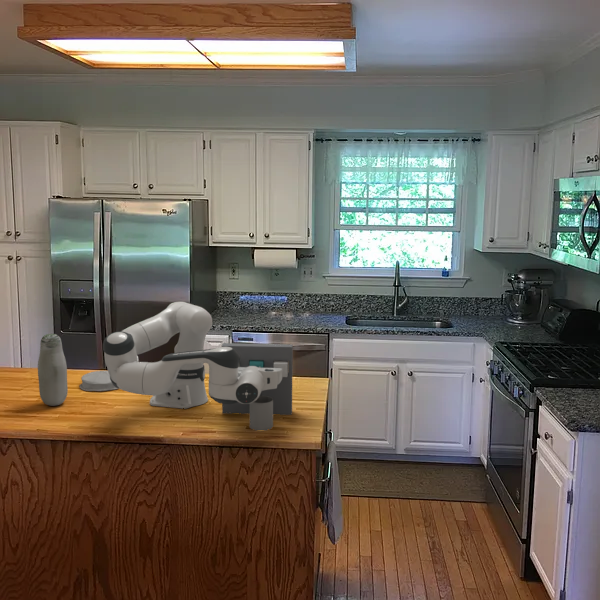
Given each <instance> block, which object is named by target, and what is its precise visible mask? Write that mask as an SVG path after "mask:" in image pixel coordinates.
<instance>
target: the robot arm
mask: <svg viewBox="0 0 600 600" xmlns="http://www.w3.org/2000/svg"><path fill="white" fill-rule="evenodd" d="M212 325H213V318H212V315H211V314H210V313H209V312H208V311H207V310H206V309H205V308H204V307H202V306H199V305H196V304H195V305H194V304H193V303H188V302H185V301H175V302H172V303H169V305H168V306H167V307H166V308H165V309H163V310H162V311H161V312H159V313H157V314H156V315H154V316H151V317H148V318H146V319H144V320H142V321H139V322H137V323H135V324H132V325H130V326H128V327H127V328H125V329H122V330H121V331H114V332H112V333H110V334H108V335H107V336H106V337H105V338H104V340H103V343H102V350H103V353H104V363H105V366H106V367H107V368H106V369H107V370H108V372H109V375H110V380H111V382H112V384H113V385H114V386H115V387H116V388H118V389H117V390H122V391H124V392H128V393H132V394H136V395H137V394H138V395H142V396H152V397H150V400H149V405H150V406H153V407H155V406H156V407H164V408H173V409H183V408H184V409H189V408H192V407H197V406H201V405H203V404H206V403H207V402H208V401H209V397H210V398H211V399H212V400H214V401H215V402H216V403H218V404H221V405H222V404H235V403H237V402H239V403H242V404H250V403H252V402H254V401H256V400H257V399H258V397H259V396H260V394H261V391H264V390H269V389H276V388H277V385H278V384H279V383H280V382H281V381H282V378H283V369H282V368H260V366H249V367H239V360H240V356H239V354H238V353H237V352H236V351H235V350H234V349H233V348H232V347H221V346H219V347H215V348H209V349H204V345H205V341H206V336H207V333H208V332H210V330H211V328H212ZM178 333H179V336H178V341H177V344H176V345H175V346H174V353H173V352H171V353H169V354H166V355H164V356H163V357H162V358H161V360H159V361H154V362H148V361H140V360H139V356H138V355H141V354H144V353H146V352H149V351H151V350H153V349H155V348H158V347H161V346H163V345H165V344H167V343H168V342H169V341H170V339H171V338H172V337H174V336H175V335H176V334H178ZM204 364H208V367H209V368H208V392H207V391H206V384H205V380H206V369H205V365H204ZM207 393H208V395H209V397H208V395H207ZM184 409H183V410H184Z"/></svg>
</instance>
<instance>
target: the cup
mask: <svg viewBox="0 0 600 600" xmlns="http://www.w3.org/2000/svg"><path fill="white" fill-rule="evenodd" d="M272 427H273V428H274V414H273V398H272V397H269V396H259V397H258V399H257V400H256V401H254V402H252V403H250V414H249V429H251V430H253V429H254V431H257V430H264V431H268V429H269V430H271V429H273V428H272Z"/></svg>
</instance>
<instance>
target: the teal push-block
mask: <svg viewBox="0 0 600 600" xmlns="http://www.w3.org/2000/svg"><path fill="white" fill-rule="evenodd" d="M250 366H260V368H264V360H250Z"/></svg>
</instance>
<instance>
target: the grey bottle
mask: <svg viewBox="0 0 600 600" xmlns="http://www.w3.org/2000/svg"><path fill="white" fill-rule="evenodd" d="M39 345H40V346H39V355H38V361H37V376H38V389H39V391H38V392H39V396H40V398H41V401H42V403H44V404H45V405H47V406H51V407H52V406H53V407H57V406H60V405H62V404H63V403H64V402H65V401H66V399H67V396H68V388H69V387H68V367H67V360H66V357H65V354H64V350H63V344H62V339H61V337H60V336H59V335H58V334H56V333H48V334H47V333H46V334H44V335H43V336H42V337H41V339H40V344H39Z"/></svg>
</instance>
